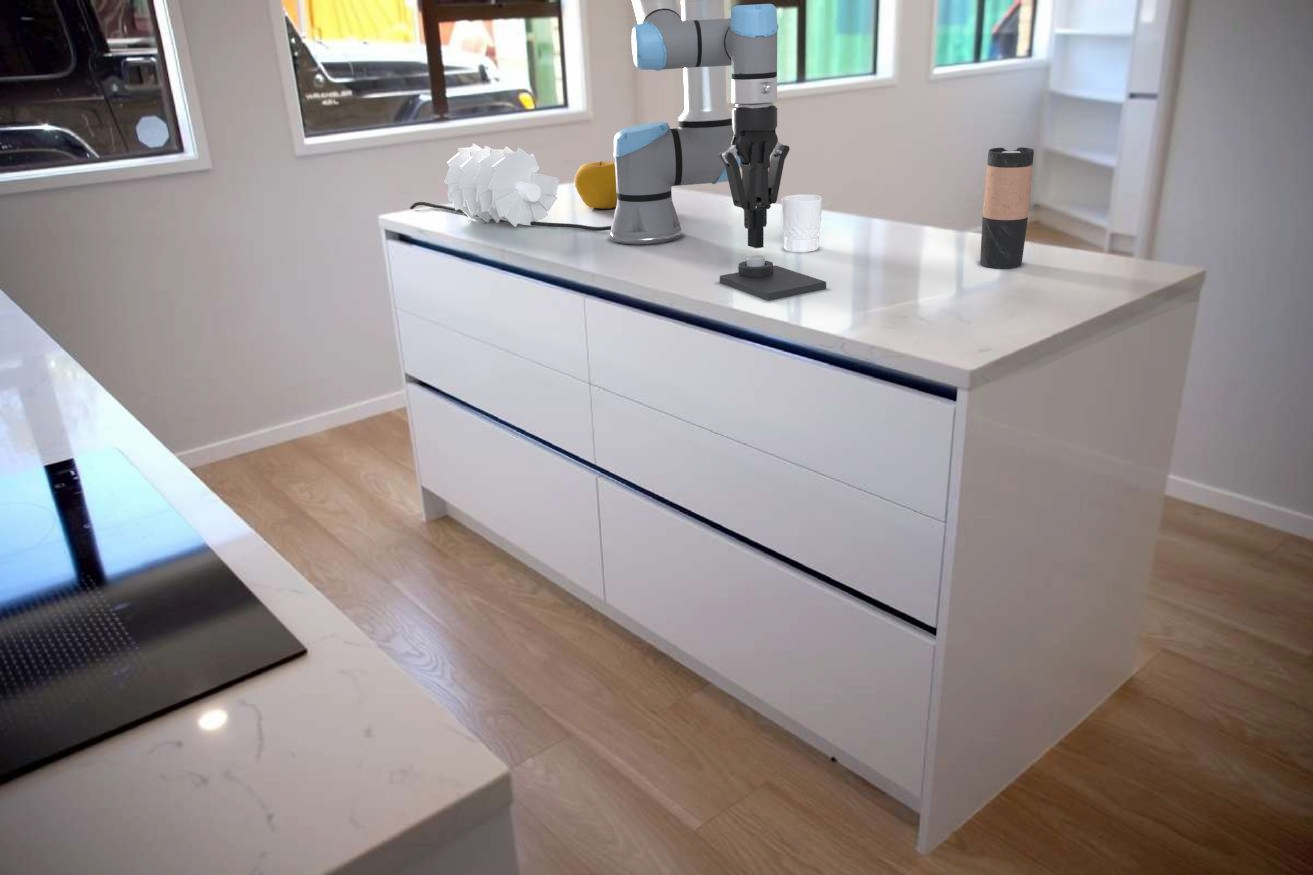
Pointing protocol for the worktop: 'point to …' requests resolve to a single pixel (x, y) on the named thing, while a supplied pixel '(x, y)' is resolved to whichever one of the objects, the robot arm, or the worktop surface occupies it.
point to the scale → (771, 281)
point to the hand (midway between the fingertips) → (755, 246)
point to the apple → (597, 184)
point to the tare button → (755, 261)
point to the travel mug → (1006, 207)
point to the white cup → (801, 222)
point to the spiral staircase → (499, 185)
